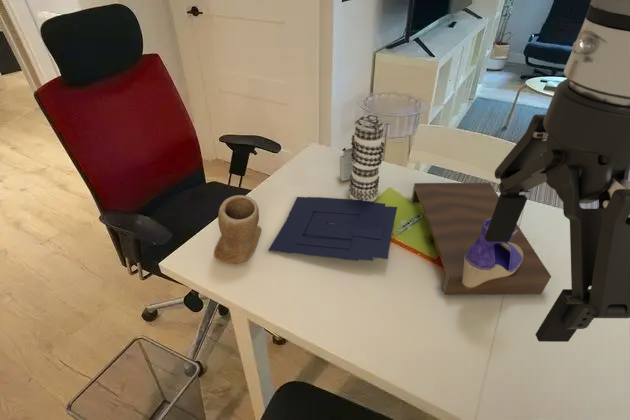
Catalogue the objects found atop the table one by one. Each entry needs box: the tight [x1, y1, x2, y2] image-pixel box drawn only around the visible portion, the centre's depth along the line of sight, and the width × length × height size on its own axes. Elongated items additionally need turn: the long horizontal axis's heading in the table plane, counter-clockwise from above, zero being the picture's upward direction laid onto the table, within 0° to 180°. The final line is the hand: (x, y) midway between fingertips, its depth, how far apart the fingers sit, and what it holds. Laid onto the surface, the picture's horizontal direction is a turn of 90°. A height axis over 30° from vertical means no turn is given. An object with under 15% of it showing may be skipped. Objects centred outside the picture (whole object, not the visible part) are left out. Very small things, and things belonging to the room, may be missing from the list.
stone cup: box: [213, 194, 262, 265], centre depth 92 cm, size 15×12×15 cm
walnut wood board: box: [411, 182, 552, 296], centre depth 96 cm, size 36×22×6 cm, turn 0°
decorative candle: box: [348, 114, 386, 202], centre depth 106 cm, size 9×9×25 cm
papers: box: [268, 196, 398, 262], centre depth 100 cm, size 24×30×4 cm
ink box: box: [339, 147, 353, 182], centre depth 119 cm, size 12×2×12 cm, turn 115°
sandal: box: [462, 218, 523, 289], centre depth 78 cm, size 8×20×15 cm, turn 118°
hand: (520, 282), depth 40 cm, fingers open, 13 cm apart
